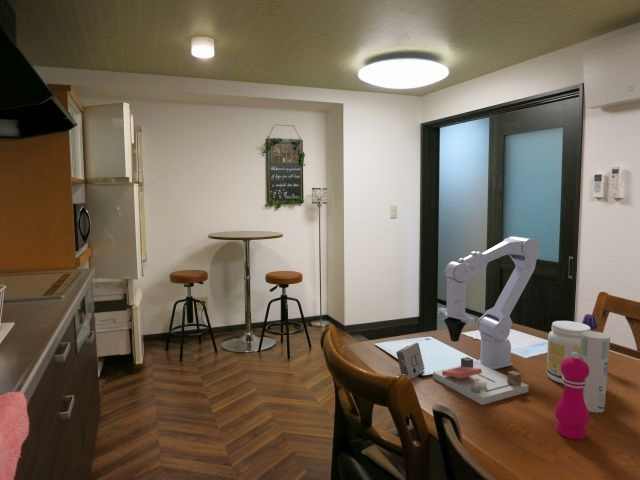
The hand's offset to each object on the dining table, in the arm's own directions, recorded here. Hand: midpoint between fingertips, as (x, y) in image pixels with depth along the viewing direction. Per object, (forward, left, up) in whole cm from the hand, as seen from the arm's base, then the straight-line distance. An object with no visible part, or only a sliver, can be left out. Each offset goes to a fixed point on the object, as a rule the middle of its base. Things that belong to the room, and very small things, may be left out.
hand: (454, 340), depth 148 cm
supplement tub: (-26, +22, -10) cm, 35 cm away
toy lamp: (-43, +17, -10) cm, 47 cm away
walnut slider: (-4, +20, -7) cm, 22 cm away
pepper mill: (+3, +43, -10) cm, 44 cm away
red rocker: (+7, +11, -6) cm, 14 cm away
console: (+2, +13, -9) cm, 16 cm away
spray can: (-14, +37, -10) cm, 40 cm away
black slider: (0, +6, -7) cm, 9 cm away
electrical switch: (+15, -3, -10) cm, 18 cm away
